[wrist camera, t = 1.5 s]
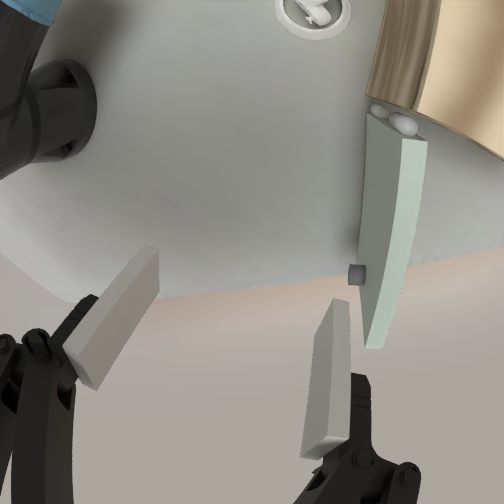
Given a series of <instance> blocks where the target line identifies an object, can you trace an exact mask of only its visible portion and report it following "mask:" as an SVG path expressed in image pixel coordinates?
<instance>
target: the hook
mask: <svg viewBox="0 0 504 504" xmlns="http://www.w3.org/2000/svg"><path fill="white" fill-rule="evenodd" d="M327 1H328V0H295V2H296V3H297V4H298V5H299V6H300V7H301V8H302V9H303V10H304V11H305V12H306V13H307V14H308V15H309V18H308V17H305V18H306V20H307V21H308V22H309V23H310V24H312V21H314V22H315V23H317V24H318V25H319V26H322V25H325V24H327V23H329V21H330V20H331V19H332V18H331V15H330V14H329V12H328V11H327V10H326V9H325V8H324V6H323V5H322V3H326V2H327ZM341 3H342V13H341V15H340V17H339V19H338V20H337V21H336V22H335V23H334V24H333V25H331V26H329V27H326V28H323V29H308V28H304V27H302V26H299V25H297V24H296V23H294V22H293V21H292V20H291V19H290V18H289V17H288V16H287V14H286V12H285V10H284V7H283V0H276V1H275V13H276V16H277V18H278V20H279V22H280V23H281V25H282V26H283V27H284V28H285V29H286V30H287V31H288V32H290V33H292V34H293V35H295V36H297V37H300V38H303V39H307V40H315V41H318V40H326V39H330V38H333V37H335V36H337V35H338V34H340V33H341V32H342V31H343V30H344V29H345V28H346V27H347V25H348V24H349V22H350V18H351V6H350V2H349V0H341Z"/></svg>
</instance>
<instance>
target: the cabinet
mask: <svg viewBox="0 0 504 504" xmlns="http://www.w3.org/2000/svg"><path fill="white" fill-rule="evenodd" d="M365 95H368V96H370V97H373V98H376V99H379V100H382V101H384V102H387V103H390V104H392V105H395V106H397V107H400V108H402V109H405V110H407V111H409V112H412V113H414V114H416V115H419V116H421V117H423V118H425V119H428V120H430V121H432V122H434V123H436V124H438V125H440V126H442V127H444V128H446V129H448V130H450V131H452V132H454V133H456V134H458V135H460V136H462V137H464V138H466V139H468V140H469V141H471V142H473V143H475V144H476V145H478V146H480V147H482V148H483V149H485V150H487V151H488V152H490V153H492V154H493V155H495V156H497V157H498V158H500V159H501V160H503V161H504V0H387V2H386V7H385V12H384V17H383V22H382V26H381V31H380V36H379V40H378V45H377V49H376V53H375V57H374V62H373V66H372V70H371V74H370V78H369V82H368V86H367V89H366V93H365Z"/></svg>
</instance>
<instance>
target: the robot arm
mask: <svg viewBox="0 0 504 504" xmlns="http://www.w3.org/2000/svg"><path fill="white" fill-rule="evenodd" d="M61 1H62V0H0V180H1V179H3V178H5V177H6V176H8V175H10V174H11V173H13V172H15V171H17V170H18V169H20V168H22V167H24V166H26V165H27V164H30V163H40V162H56V161H61V160H64V159H66V158H68V157H70V156H72V155H74V154H76V153H78V152H79V151H80V150H81V149H82V148H83V147H84V146H85V144H86V143H87V141H88V140H89V138H90V135H91V133H92V130H93V127H94V123H95V117H96V97H95V91H94V87H93V84H92V81H91V79H90V77H89V75H88V73H87V72H86V71H85V69H84V68H83V67H82V66H81V65H79V64H78V63H76V62H74V61H72V60H57V61H51V62H48V63H45V64H43V65H42V66H40V67H38V68H37V69H35V70H33V71H31V69H32V67H33V64H34V61H35V59H36V56H37V54H38V51H39V49H40V47H41V44H42V42H43V40H44V37H45V35H46V33H47V31H48V29H49V27H50V26H51V25H52V24H53V23H54V16H55V14H56V12H57V10H58V8H59V5H60V3H61ZM158 292H159V257H158V249H156V248H153V247H150V246H146V245H144V246H143V247H142V248H141V250H140V251H139V252H138V253H137V254H136V255H135V256H134V257H133V259H132V260H131V261H130V262H129V263H128V264H127V265H126V267H125V268H124V269H123V270H122V271H121V272H120V274H119V275H118V276H117V277H116V278H115V280H114V281H113V282H112V283H111V284H110V285H109V287H108V288H107V289H106V290H105V291H104V293H103V294H102V295H101V296H100V298H99V297H97V296H94V295H92V294H90V295H88V296H87V297H85V298H83V299H82V300H80V302H79V303H78V304H77V305H76V306H75V308H74V310H72V311H71V312H70V314H69V316H67V317H66V319H65V320H64V321H63V322H62V324H61V325H60V326H59V327H58V329H57V330H56V331H55V332H54V334H53V335H52V336H51V338H50V336H49V334H48V333H47V332H46V331H45V330H43V329H40V328H37V329H32V330H30V331H28V332H27V333H26V334H25V335H24V336H23V338H22V340H21V341H22V343H23V344H19V343H16V341H15V339H14V338H13V337H12V336H11V335H9V334H2V335H0V495H1V490H2V486H3V482H4V478H5V474H6V470H7V467H8V463H9V460H10V456H11V453H12V468H11V504H74V502H73V484H72V437H73V419H74V405H75V395H76V384H75V382H76V380H77V378H78V377H79V379H80V381H81V383H82V384H84V385H85V386H87V387H89V388H91V389H93V390H95V391H97V390H98V388H99V386H100V385H101V383H102V381H103V379H104V378H105V376H106V375H107V373H108V371H109V370H110V368H111V366H112V365H113V363H114V361H115V360H116V358H117V356H118V355H119V353H120V352H121V350H122V348H123V347H124V345H125V344H126V342H127V340H128V339H129V337H130V335H131V334H132V332H133V331H134V329H135V328H136V326H137V325H138V323H139V321H140V320H141V318H142V317H143V315H144V314H145V312H146V311H147V309H148V308H149V306H150V304H151V303H152V302H153V300H154V298H155V297H156V295H157V294H158ZM370 399H371V386H370V384H369V381H368V379H367V377H366V375H362V374H356V373H351V345H350V316H349V302H347V301H343V300H339V299H335V298H333V300H332V302H331V304H330V306H329V308H328V310H327V312H326V314H325V316H324V318H323V320H322V322H321V324H320V326H319V328H318V330H317V332H316V334H315V336H314V347H313V358H312V368H311V378H310V386H309V396H308V403H307V411H306V419H305V426H304V432H303V439H302V446H301V452H300V458H306V459H313V460H319V459H321V458H322V457H323V464H322V466H320V467H318V468H317V469H315V470H314V471H313V472H312V473H313V474H315V475H314V476H313V478H312V479H311V480H310V482H309V483H308V485H307V486H306V488H305V489H304V490H303V492H302V493H301V494H300V496H299V497H298V498H297V500H296V501H295V502H294V503H293V504H417V498H418V494H419V488H420V483H421V472H420V470H419V468H418V467H417V466H416V465H415V464H413V463H411V462H404V463H402V464H400V465H397V464H395V463H392V462H390V461H387V460H385V459H382V458H381V457H379V456H378V455H377V454H376V452H375V450H374V449H373V447H372V443H371V400H370Z"/></svg>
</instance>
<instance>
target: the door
mask: <svg viewBox="0 0 504 504" xmlns="http://www.w3.org/2000/svg"><path fill="white" fill-rule="evenodd" d="M370 111H371V113H372V114H371V113H367V131H366V160H365V178H364V192H363V204H362V215H361V225H360V234H359V243H358V251H357V258H356V265H354V264H350V265H349V270H348V285H359V289H360V298H361V308H362V318H363V331H364V345H365V349H382V348H383V345H384V342H385V340H386V337H387V334H388V331H389V328H390V325H391V322H392V318H393V316H394V312H395V309H396V306H397V303H398V299H399V296H400V292H401V289H402V285H403V281H404V278H405V274H406V270H407V266H408V262H409V257H410V253H411V249H412V244H413V240H414V235H415V230H416V225H417V219H418V214H419V208H420V202H421V196H422V189H423V182H424V174H425V165H426V156H427V145H428V141H426V140H424V139H423V138H421V137H420V136H418V135H417V134H416V133H417V131H418V125H417V123H416V121H415V120H413V119H412V118H409V117H407V116H405V115H403V114H400V113H397V112H395V113H392V114H391V115H390V117H389V118H388V116H389V111H388V109H387V108H386V107H384V106H381V105H379V104H373V105H371V107H370Z"/></svg>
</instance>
